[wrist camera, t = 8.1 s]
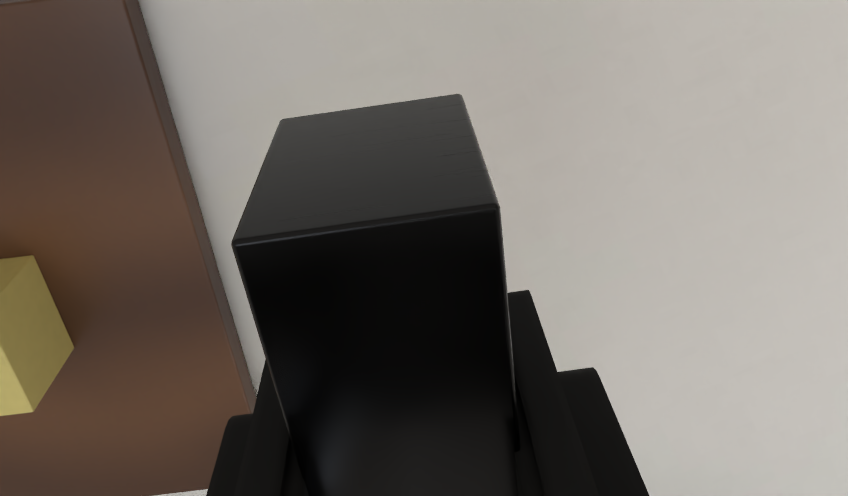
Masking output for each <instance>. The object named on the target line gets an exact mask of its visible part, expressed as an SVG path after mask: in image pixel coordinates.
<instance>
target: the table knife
mask: <svg viewBox="0 0 848 496" xmlns="http://www.w3.org/2000/svg"><path fill="white" fill-rule="evenodd" d="M232 249H233V252H234V255H235V258H236V262H237V265H238V268H239V272H240V275H241V278H242V281H243V285H244V288H245V291H246V295H247V298H248V301H249V304H250V308H251V311H252V314H253V318H254V321H255V324H256V327H257V331H258V334H259V337H260V341H261V344H262V347H263V350H264V354H265V357H266V360H267V364H268V367H269V370H270V373H271V377H272V380H273V383H274V387H275V390H276V393H277V396H278V400H279V403H280V406H281V410H282V413H283V416H284V419H285V423H286V426H287V429H288V433H289V436H290V439H291V442H292V446H293V449H294V452H295V456H296V459H297V462H298V466H299V469H300V472H301V475H302V478H303V479H304V481H305V484H306V488H307V491H308V494H309V496H518V488H517V477H516V466H515V455H514V452H518V451H520V448H521V445H520V434H519V422H518V411H517V399H516V387H515V376H514V364H513V353H512V341H511V329H510V318H509V306H508V295H507V283H506V271H505V260H504V248H503V237H502V225H501V213H500V206H499V203H498V200H497V197H496V194H495V191H494V188H493V185H492V182H491V179H490V176H489V173H488V170H487V168H486V165H485V162H484V159H483V156H482V153H481V150H480V147H479V144H478V141H477V138H476V135H475V132H474V129H473V126H472V123H471V120H470V117H469V114H468V111H467V109H466V106H465V103H464V100H463V97H462V95H460V94H454V95H447V96H440V97H433V98H426V99H419V100H412V101H405V102H398V103H391V104H384V105H377V106H370V107H363V108H356V109H349V110H342V111H335V112H328V113H321V114H314V115H308V116H301V117H294V118H287V119H282V120H280V122H279V125H278V127H277V130H276V132H275V135H274V137H273V140H272V142H271V145H270V147H269V150H268V152H267V155H266V157H265V160H264V162H263V165H262V167H261V170H260V172H259V175H258V177H257V180H256V182H255V185H254V187H253V190H252V192H251V195H250V197H249V200H248V202H247V205H246V207H245V210H244V212H243V215H242V217H241V220H240V222H239V225H238V227H237V230H236V232H235V235H234V237H233V240H232Z"/></svg>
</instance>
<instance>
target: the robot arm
mask: <svg viewBox="0 0 848 496" xmlns="http://www.w3.org/2000/svg"><path fill="white" fill-rule="evenodd" d="M507 295H508V306H509V318H510V329H511V341H512V353H513V364H514V376H515V387H516V399H517V411H518V422H519V434H520V445H521V448H520V451H518V452H514V455H515V466H516V477H517V488H518V496H649V494H648V492H647V489H646V487H645V484H644V482H643V480H642V477H641V475H640V473H639V470H638V468H637V465H636V463H635V461H634V458H633V456H632V453H631V451H630V449H629V446H628V444H627V442H626V439H625V437H624V434H623V432H622V430H621V427H620V425H619V422H618V420H617V418H616V415H615V413H614V411H613V408H612V406H611V403H610V401H609V399H608V396H607V394H606V391H605V389H604V387H603V384H602V382H601V380H600V377H599V375H598V373H597V371H596V370H595V369H594V368H593V367H592V368H585V369H577V370H570V371H563V372H557V370H556V367H555V364H554V361H553V358H552V355H551V352H550V349H549V346H548V343H547V340H546V338H545V335H544V332H543V329H542V326H541V323H540V320H539V317H538V314H537V311H536V308H535V305H534V302H533V299H532V296H531V294H530V291H529V290H525V291H518V292H510V293H507ZM206 496H309V494H308V491H307V488H306V484H305V481H304V479H303V478H302V475H301V472H300V469H299V466H298V462H297V459H296V456H295V452H294V449H293V446H292V442H291V439H290V436H289V433H288V429H287V426H286V423H285V419H284V416H283V413H282V410H281V406H280V403H279V400H278V396H277V393H276V390H275V387H274V383H273V380H272V377H271V373H270V370H269V367H268V364H267V360H265V365H264V369H263V373H262V377H261V382H260V386H259V390H258V394H257V399H256V403H255V407H254V411H253V413H251V414H243V415H236V416H232V417H231V418H230V419H229V420H228V422H227V425H226V427H225V431H224V434H223V438H222V441H221V445H220V449H219V452H218V456H217V459H216V463H215V466H214V470H213V474H212V477H211V481H210V484H209V488H208V492H207V495H206Z"/></svg>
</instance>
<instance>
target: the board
mask: <svg viewBox="0 0 848 496" xmlns="http://www.w3.org/2000/svg"><path fill="white" fill-rule="evenodd" d="M30 255H33V256H34V258H35V260H36V262H37V264H38V267H39V269H40V271H41V273H42V276H43V278H44V280H45V282H46V285H47V287H48V289H49V291H50V294H51V296H52V298H53V300H54V303H55V305H56V307H57V309H58V312H59V314H60V316H61V319H62V321H63V323H64V325H65V328H66V330H67V332H68V334H69V337H70V339H71V341H72V343H73V346H74V349H73V351H72V352H71V354H70V355H69V357H68V358H67V360H66V362H65V363H64V365H63V366H62V368H61V369H60V371H59V373H58V374H57V376H56V377H55V379H54V380H53V382H52V383H51V385H50V387H49V388H48V390H47V391H46V393H45V394H44V396H43V398H42V399H41V401H40V402H39V404H38V405H37V407H36V409H35V410H34V411H33V412H30V413H22V414H13V415H5V416H0V496H152V495H161V494H169V493H177V492H186V491H194V490H203V489H208V488H209V484H210V481H211V477H212V474H213V470H214V466H215V463H216V459H217V456H218V452H219V449H220V445H221V441H222V438H223V434H224V431H225V427H226V425H227V422H228V420H229V419H230V418H231V417H232V416H236V415H243V414H251V413H253V411H254V407H255V403H256V396H255V392H254V389H253V386H252V382H251V379H250V375H249V372H248V369H247V365H246V362H245V359H244V355H243V352H242V349H241V345H240V342H239V338H238V335H237V332H236V328H235V325H234V322H233V318H232V315H231V312H230V308H229V305H228V301H227V298H226V295H225V291H224V288H223V285H222V281H221V278H220V275H219V271H218V268H217V265H216V261H215V258H214V254H213V251H212V248H211V244H210V241H209V238H208V234H207V231H206V228H205V224H204V221H203V217H202V214H201V211H200V207H199V204H198V201H197V197H196V194H195V191H194V187H193V184H192V181H191V177H190V174H189V170H188V167H187V164H186V160H185V157H184V154H183V150H182V147H181V144H180V140H179V137H178V133H177V130H176V127H175V123H174V120H173V117H172V113H171V110H170V107H169V103H168V100H167V97H166V93H165V90H164V86H163V83H162V80H161V76H160V73H159V70H158V66H157V63H156V60H155V56H154V53H153V49H152V46H151V43H150V39H149V36H148V33H147V29H146V26H145V23H144V19H143V16H142V12H141V9H140V6H139V2H138V0H0V259H5V258H14V257H22V256H30Z"/></svg>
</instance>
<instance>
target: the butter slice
mask: <svg viewBox="0 0 848 496" xmlns="http://www.w3.org/2000/svg"><path fill="white" fill-rule="evenodd" d="M73 349H74V346H73V343H72V341H71V339H70V337H69V334H68V332H67V330H66V328H65V325H64V323H63V321H62V319H61V316H60V314H59V312H58V309H57V307H56V305H55V303H54V300H53V298H52V296H51V294H50V291H49V289H48V287H47V285H46V282H45V280H44V278H43V276H42V273H41V271H40V269H39V267H38V264H37V262H36V260H35V258H34V256H33V255H30V256H22V257H14V258H5V259H0V416H5V415H13V414H22V413H30V412H33V411H34V410H35V409H36V407H37V405H38V404H39V402H40V401H41V399H42V398H43V396H44V394H45V393H46V391H47V390H48V388H49V387H50V385H51V383H52V382H53V380H54V379H55V377H56V376H57V374H58V373H59V371H60V369H61V368H62V366H63V365H64V363H65V362H66V360H67V358H68V357H69V355H70V354H71V352H72V351H73Z"/></svg>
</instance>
